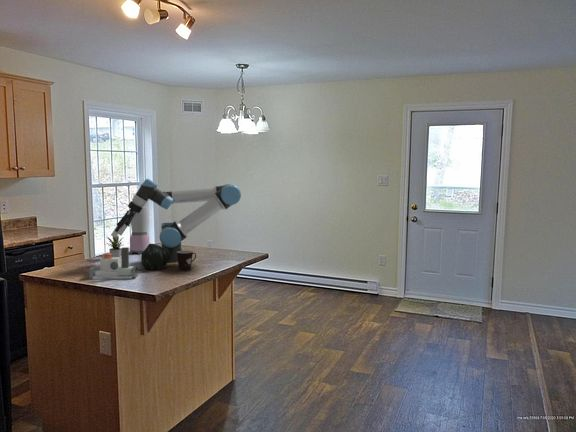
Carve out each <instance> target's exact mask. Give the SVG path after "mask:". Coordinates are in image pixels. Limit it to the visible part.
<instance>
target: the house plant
mask: <svg viewBox="0 0 576 432" xmlns="http://www.w3.org/2000/svg"><path fill="white" fill-rule="evenodd" d="M103 236H105V238H106V239H107V240H108V241H109V243H108V242H104V243H106V245H107V246H108V247H111V248H109V250H108V251H109V253H112V255H111V257H121V248H122V246H123V244H122V243H123V242H122V240H123V237H121V238H120V239H119V236H118V235H117V236H116V237H113V236H112V239H111V238H110V237H108V236H106V235H104V234H103Z"/></svg>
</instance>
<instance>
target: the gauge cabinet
mask: <svg viewBox="0 0 576 432" xmlns="http://www.w3.org/2000/svg"><path fill="white" fill-rule="evenodd" d="M119 266H122V261H121V256H120V257H111V259H104V256H103V257H101V258H100V259H99V268H100V269H99V271H117V268H118V267H119Z"/></svg>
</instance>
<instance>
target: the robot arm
mask: <svg viewBox="0 0 576 432" xmlns="http://www.w3.org/2000/svg"><path fill="white" fill-rule="evenodd" d="M241 196H242V193H241V190H240V188H239V187H238V185H236V184H233V183H232V184H231V183H227V184H224V185H218V186H214V187H212V188H201V189H200V188H197V189H185V190H172V191H162V190H160V189H158V184H157V183H156V182H155V181H153V180H151V179H149V178H146V179H145V180H144V181H143V182H142V184H141V185H140V186H139V188H138V190H137V191H136V193H135V194H134V195H133V196H132V199H131V201H130V202H129V203H128V205H127V207H128V208H129V210H127V211H126V213H124V215H123V216H122V217H121V218H120V220H119V221H118V222H116V227H115V228H114V230H113V231H112V232H111V234H110V236H112V238H113V237H116V236H117V237H118V236H121V237H122V235H124V232H125V231H126V230H127V229H128V227H131V221H132V219H133V217H134V216H135V214H136V212H137V213H140V211H141V210H142V207H144V206H146V204H147V203H148V201H152V202H153V203H154V204H156V205H158V206H160V207H161V208H163V209H165V210H168V209H169V208H170V206H171V205H172V204H173V205H174V204H185V203H197V202H205V203H204V204H202V205H201V206H199V207H197V208H196V209H195V210H193V211H192V212H191V213H189V214H188V215H186V216H185V217H184V218H182V219H180V220H174V221H173V222H162V223H161V231H160V233H159V241H160V243H161V247H162V248H163V249H165V250H166V251H167V253H168V255H169V260H168V263H178V257H177V252H178V251H183V249H182V242H183V240H186V238H188V236H189V233H191V232H192V231H194V230H195V229H196V228H197V227H199V226H200V225H202V224H203V223H205V222H206V221H207V220H209V219H210V218H212V217H213V216H214V215H216V214H218V213H219V212H220V211H222V210H225V211H226V210H228V209H230V207H232V206H234V205H236V204H238V202H240V200H241Z"/></svg>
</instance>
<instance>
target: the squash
mask: <svg viewBox="0 0 576 432" xmlns="http://www.w3.org/2000/svg"><path fill="white" fill-rule="evenodd" d="M140 260H141V265H142V267H144V268H145V269H146V270H154V271H155V270H161V269H162V268H165V267H166V266H167V265H168V263H169V262H168V260H169V255H168V253H167V251H166V250H165V249H163V248H162V246H160V245H158V244H155V243H149V245H148V246H147V248H146V249H145V250H144V252H142V254H141V257H140Z"/></svg>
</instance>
